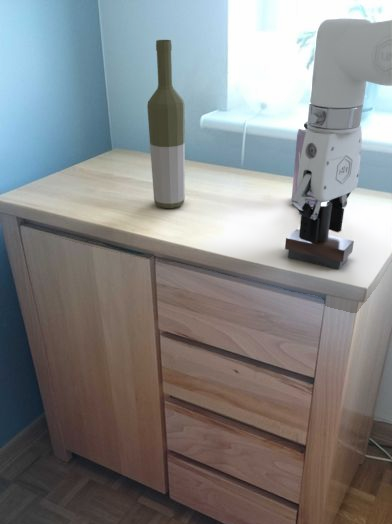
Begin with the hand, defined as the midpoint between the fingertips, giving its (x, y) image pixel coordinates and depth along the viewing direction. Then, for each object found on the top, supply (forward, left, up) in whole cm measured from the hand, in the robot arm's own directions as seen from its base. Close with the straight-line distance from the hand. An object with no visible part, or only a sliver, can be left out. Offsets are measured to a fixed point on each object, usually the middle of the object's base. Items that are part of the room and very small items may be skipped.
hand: (320, 234), depth 91 cm
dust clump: (+18, -20, +11) cm, 29 cm away
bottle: (+37, +1, -5) cm, 38 cm away
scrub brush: (0, 0, -4) cm, 4 cm away
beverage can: (+18, -20, -5) cm, 28 cm away
